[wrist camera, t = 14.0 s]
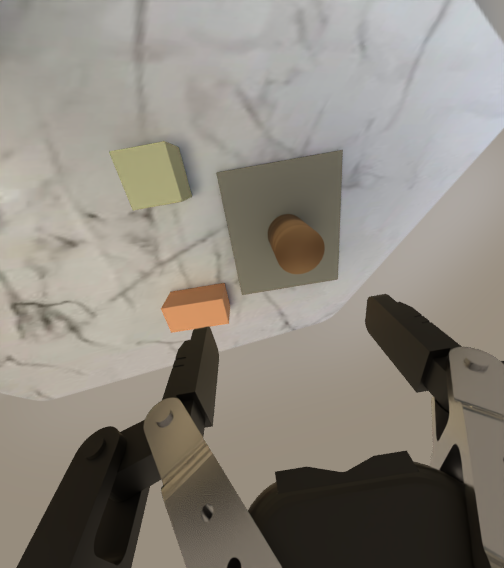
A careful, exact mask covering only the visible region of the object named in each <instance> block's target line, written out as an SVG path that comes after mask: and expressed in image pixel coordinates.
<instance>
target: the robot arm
mask: <svg viewBox="0 0 504 568" xmlns="http://www.w3.org/2000/svg"><path fill="white" fill-rule="evenodd" d="M365 324H366V328H367V330H368V332H369V334H370V335H371V336H372V337H373V339H374V340H375V341H376V342H377V344H378V345H379V346H380V347H381V349H382V350H383V351H384V352H385V354H386V355H387V356H388V357H389V359H390V360H391V361H392V362H393V363H394V365H395V366H396V367H397V369H398V370H399V371H400V372H401V374H402V375H403V376H404V377H405V379H406V380H407V381H408V382H409V384H410V385H411V386H412V387H413V389H414V390H415V391H416V392H423V391H429V392H430V393H431V394H432V395H433V397H432V400H431V405H432V436H433V449H432V455H431V461H430V466H428V465H425V464H420V463H417V462H413V461H412V459H411V457H410V456H409V454H408V452H407V451H401V452H395V453H389V454H383V455H377V456H373V457H371V458H369V459H368V460H366V461H364V462H362V463H360V464H359V465H357V466H355V467H353V468H352V469H350V470H348V471H346V472H337V471H330V470H324V469H317V468H312V467H302V468H296V469H290V470H283V471H277V472H275V475H276V482H275V483H273V484H272V485H270V486H269V487H268V488H266V489H265V490H264V491H263V492H262V493H261V494H260V495H259V496H258V497H257V498H256V500H255V501H254V502H253V504H252V505H251V506H250V508H249V510H248V511H247V509H246V507H245V506H244V504H243V502H242V501H241V499H240V497H239V496H238V494H237V492H236V491H235V489H234V487H233V486H232V484H231V483H230V481H229V479H228V478H227V476H226V475H225V473H224V471H223V469H222V468H221V466H220V465H219V463H218V461H217V460H216V458H215V456H214V455H213V453H212V451H211V450H210V448H209V446H208V445H207V444H206V442H205V440H204V439H203V435H204V428H205V427H211V426H213V416H214V407H215V396H216V386H217V385H216V384H217V375H218V364H219V353H218V348H217V345H216V342H215V340H214V337H213V334H212V331H211V329H210V327H209V326H207V327H202V328H197V329H194V330H193V333H192V336H191V340H188V341H185V342H184V343H183V344H182V346H181V347H180V348H179V349H178V352H177V355H176V358H175V359H176V361H175V362H174V365H173V369H172V371H171V374H170V377H169V380H168V383H167V386H166V389H165V393H164V396H163V399H162V401H160V402H159V403H158V404H156V405H155V406H154V407H153V408H152V409H151V410H150V411H149V413H148V414H147V416H146V418H145V420H143V421H141V422H140V423H138V424H136V425H133V426H132V427H129V428H127V429H126V430H123V431H122V432H119V431H118V430H117V429H116V428H115V427H111V426H110V427H105V428H102V429H100V430H98V431H97V432H95V433H94V434H92V435H91V436H90V437H89V438H88V439H86V441H84V443H83V444H82V445H81V446H80V448H79V449H78V451H77V452H76V454H75V456H74V458H73V460H72V462H71V464H70V466H69V468H68V469H67V471H66V473H65V475H64V477H63V479H62V481H61V483H60V485H59V487H58V489H57V491H56V492H55V494H54V496H53V498H52V500H51V502H50V504H49V506H48V508H47V510H46V512H45V514H44V516H43V518H42V519H41V521H40V523H39V525H38V527H37V529H36V531H35V533H34V535H33V537H32V539H31V541H30V542H29V545H28V546H27V548H26V550H25V552H24V554H23V556H22V558H21V560H20V562H19V564H18V566H17V568H131V566H132V562H133V557H134V553H135V549H136V545H137V540H138V536H139V532H140V527H141V523H142V518H143V514H144V510H145V505H146V501H147V497H148V493H149V488H150V486H151V485H153V484H154V483H156V482H158V481H159V480H161V479H162V483H163V487H162V488H161V493H162V497H163V500H164V503H165V506H166V509H167V512H168V515H169V518H170V521H171V523H172V527H173V530H174V533H175V535H176V538H177V541H178V544H179V547H180V550H181V553H182V556H183V558H184V562H185V565H186V567H187V568H504V361H500V360H498V359H497V358H496V357H494V356H492V355H490V354H489V353H487V352H484V351H482V350H479V349H475V348H471V347H462V346H460V345H459V344H458V343H456V342H455V341H454V340H453V339H452V338H450V337H449V336H448V335H446V334H445V333H444V332H443V331H441V330H440V329H439V328H438V327H436V326H435V325H434V324H433V323H430V322H429V320H428V319H426V318H425V317H424V316H422V315H421V314H420V313H419V312H418V311H416V310H415V309H414V308H412V307H410V306H408V305H406V304H403V303H401V302H396V301H395V300H394V299H392V298H391V297H390V296H389V295H387V294H382V295H377V296H371V297H369V298H368V300H367V308H366V319H365Z"/></svg>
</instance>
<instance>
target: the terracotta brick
mask: <svg viewBox="0 0 504 568" xmlns="http://www.w3.org/2000/svg"><path fill="white" fill-rule="evenodd" d="M161 310H162V312H163V315H164V317H165V319H166V321H167V324H168V326H169V328H170V331H171V333H172V332H178V331H184V330H191V329H197V328H202V327H207V326H209V327H210V326H216V325H222V324H228V323H229V314H230V303H229V299H228V295H227V291H226V287H225V283H221V284H215V285H209V286H203V287H197V288H191V289H185V290H179V291H173V292H170V294H169V296H168V297H167V299H166V301H165V303H164V304H163V306H162V308H161Z"/></svg>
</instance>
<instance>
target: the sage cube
mask: <svg viewBox="0 0 504 568" xmlns="http://www.w3.org/2000/svg"><path fill="white" fill-rule="evenodd" d="M109 153H110V155H111V158H112V160H113V163H114V165H115V168H116V170H117V173H118V175H119V178H120V180H121V182H122V185H123V187H124V190H125V192H126V195H127V197H128V200H129V202H130V205H131V207H132V209H133V210H138V209H143V208H149V207H155V206H160V205H166V204H171V203H177V202H182V201H184V200H186V199H188V198H190V197H192V194H191V191H190V187H189V183H188V180H187V176H186V172H185V169H184V165H183V161H182V158H181V154H180V150H179V147H177V146H174V145H172V144H170V143H167V142H165V141H163V142H158V143H153V144H147V145H142V146H137V147H131V148H126V149H121V150H115V151H110V152H109Z"/></svg>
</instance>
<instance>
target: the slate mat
mask: <svg viewBox="0 0 504 568" xmlns="http://www.w3.org/2000/svg"><path fill="white" fill-rule="evenodd" d="M342 155H343V150H340V151H334V152H329V153H323V154H317V155H312V156H306V157H301V158H295V159H290V160H284V161H278V162H273V163H267V164H262V165H256V166H251V167H245V168H239V169H234V170H228V171H223V172H217V178H218V183H219V188H220V192H221V197H222V202H223V207H224V211H225V216H226V221H227V226H228V230H229V235H230V240H231V245H232V249H233V254H234V259H235V264H236V268H237V273H238V278H239V283H240V287H241V292H242V295H245V294H252V293H258V292H264V291H270V290H276V289H282V288H288V287H294V286H300V285H306V284H312V283H318V282H325V281H331V280H337V279H338V259H339V233H340V207H341V181H342ZM284 214H292V215H295V216H297V217H298V218H300V219H301V220H302V221H304V222H305V223H306V224H307V225H309V226H310V227H311V228H312V229H314V230H315V231H316V232H317V233H319V234H320V236H321V237H322V239H323V241H324V245H325V251H324V255H323V258H322V260H321V261H320V263H319V264H318V265H317V266H316V267H315V268H314V269H313V270H311V271H309V272H307V273H304V274H291V273H288V272H286V271H285V270H283V269H282V268H281V267H280V265H279V263H278V261H277V259H276V257H275V254H274V252H273V250H272V247H271V245H270V243H269V240H268V229H269V226H270V224H271V223H272V221H273V220H274V219H276V218H277V217H279V216H281V215H284Z"/></svg>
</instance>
